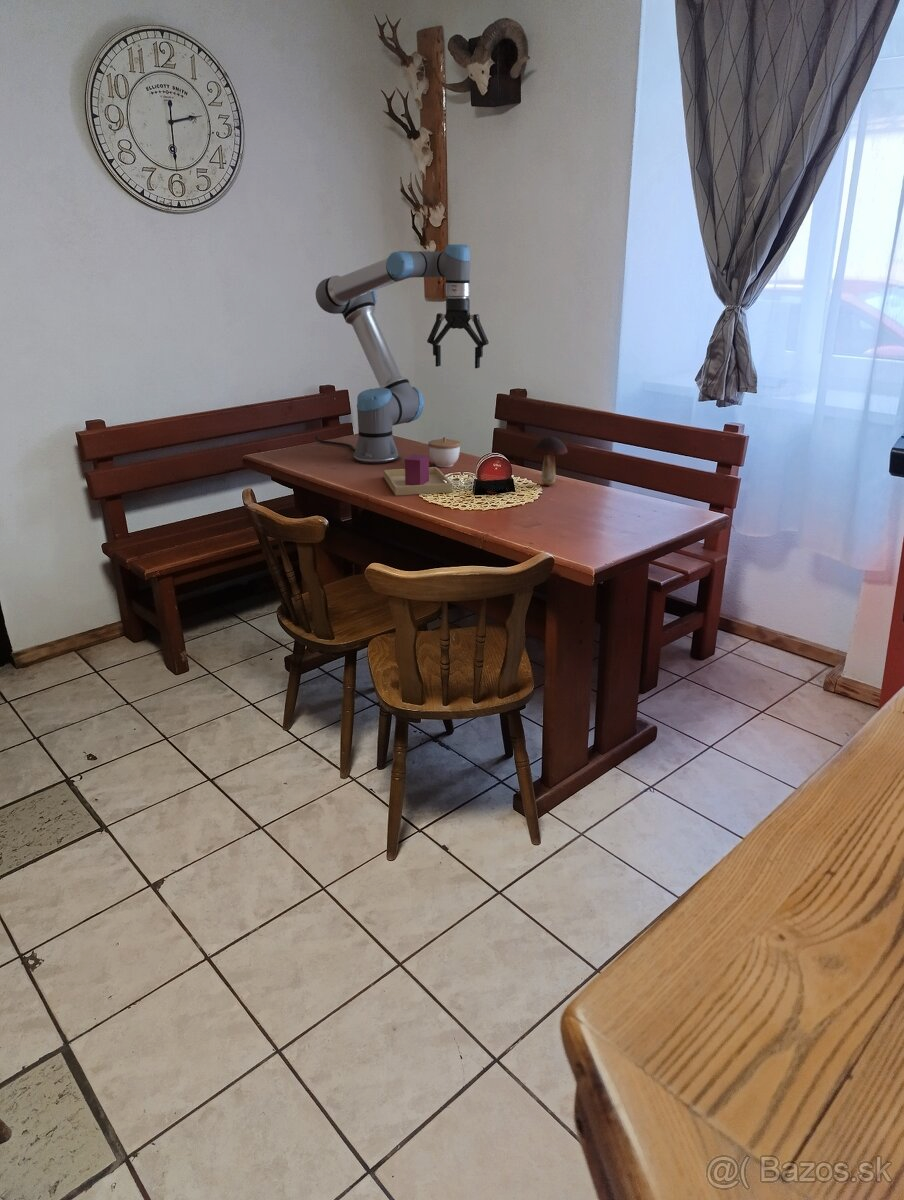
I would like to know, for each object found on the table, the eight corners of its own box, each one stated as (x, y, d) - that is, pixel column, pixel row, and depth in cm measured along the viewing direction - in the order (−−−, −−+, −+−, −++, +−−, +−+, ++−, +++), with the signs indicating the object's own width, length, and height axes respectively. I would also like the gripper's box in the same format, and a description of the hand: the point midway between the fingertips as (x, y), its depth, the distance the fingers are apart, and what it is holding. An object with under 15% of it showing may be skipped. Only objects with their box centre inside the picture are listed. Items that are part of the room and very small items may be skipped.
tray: (384, 478, 258) (383, 470, 257) (436, 474, 262) (436, 467, 261) (395, 495, 239) (395, 487, 238) (452, 492, 243) (452, 483, 242)
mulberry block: (414, 479, 254) (413, 454, 251) (429, 480, 253) (428, 455, 249) (405, 484, 248) (404, 459, 245) (420, 486, 247) (419, 460, 243)
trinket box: (437, 470, 268) (437, 441, 264) (423, 463, 276) (422, 436, 273) (465, 466, 272) (466, 438, 268) (451, 460, 281) (451, 433, 277)
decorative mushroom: (570, 488, 246) (573, 439, 240) (536, 490, 244) (538, 441, 238) (558, 479, 256) (561, 432, 250) (525, 481, 254) (527, 433, 248)
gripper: (416, 297, 257) (417, 366, 265) (491, 298, 249) (490, 370, 257) (425, 296, 264) (426, 364, 272) (499, 297, 256) (497, 367, 264)
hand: (457, 367), depth 265 cm, fingers open, 13 cm apart
